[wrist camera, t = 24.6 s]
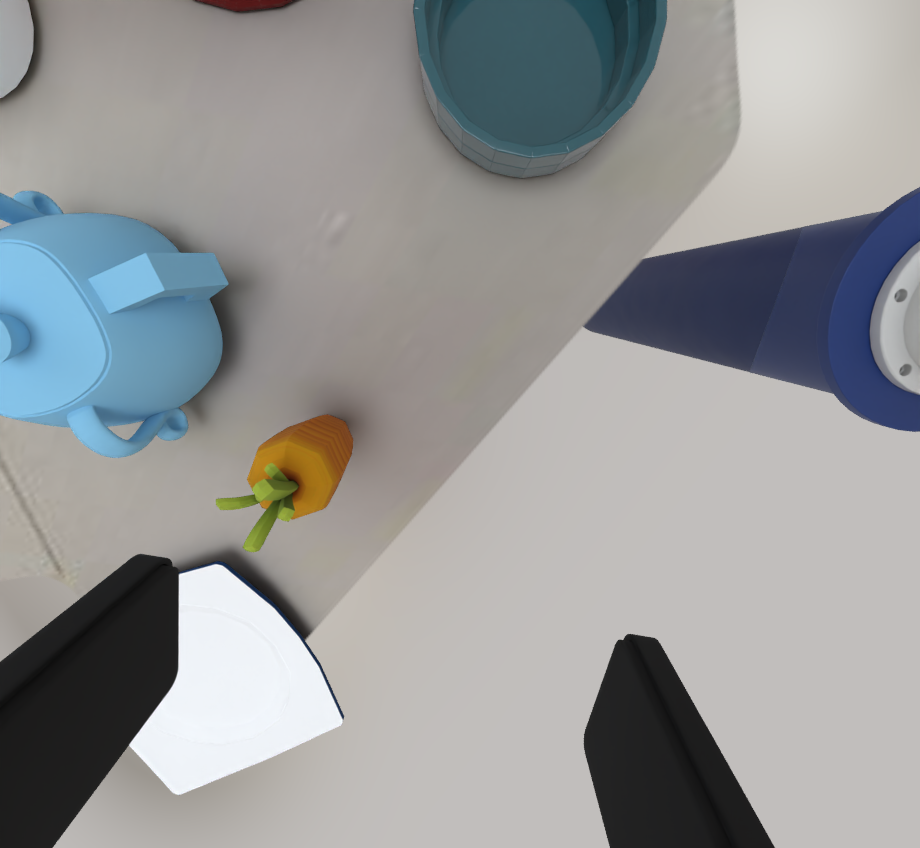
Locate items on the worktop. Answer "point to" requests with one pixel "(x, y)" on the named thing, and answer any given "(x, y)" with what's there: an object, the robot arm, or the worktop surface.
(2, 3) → the mug
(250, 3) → the container
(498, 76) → the bowl
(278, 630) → the plate
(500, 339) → the worktop surface
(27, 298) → the teapot
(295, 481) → the carrot
